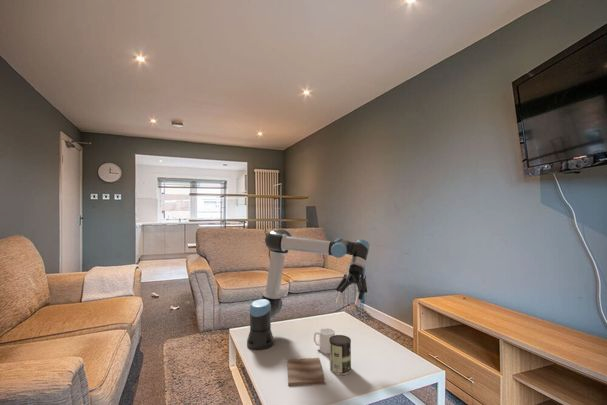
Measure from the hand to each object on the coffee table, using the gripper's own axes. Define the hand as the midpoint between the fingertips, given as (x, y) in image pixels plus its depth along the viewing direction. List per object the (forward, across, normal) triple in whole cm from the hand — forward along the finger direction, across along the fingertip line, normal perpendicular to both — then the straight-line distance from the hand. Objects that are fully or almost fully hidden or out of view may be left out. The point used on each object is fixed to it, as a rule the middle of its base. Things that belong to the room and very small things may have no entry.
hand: (346, 305), depth 148 cm
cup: (+21, +21, -12) cm, 32 cm away
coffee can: (+28, +2, -8) cm, 29 cm away
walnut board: (+35, +10, +5) cm, 37 cm away
